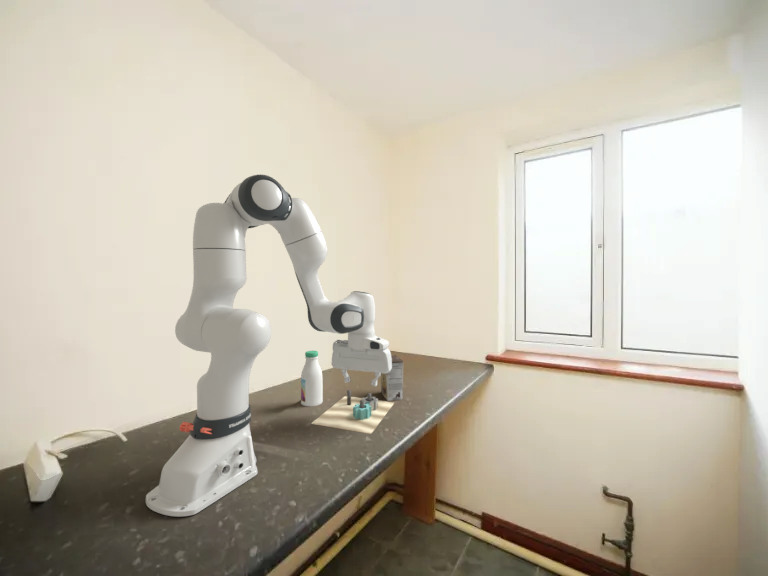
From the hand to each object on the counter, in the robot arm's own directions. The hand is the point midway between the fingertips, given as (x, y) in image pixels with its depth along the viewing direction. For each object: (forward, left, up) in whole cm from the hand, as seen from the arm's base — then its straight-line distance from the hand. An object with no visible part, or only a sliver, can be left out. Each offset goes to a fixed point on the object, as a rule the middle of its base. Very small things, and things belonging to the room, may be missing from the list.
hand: (360, 384), depth 97 cm
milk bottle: (+6, +22, -12) cm, 26 cm away
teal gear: (+1, 0, -11) cm, 11 cm away
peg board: (+3, +3, -12) cm, 13 cm away
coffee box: (+21, -4, -12) cm, 25 cm away
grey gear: (+7, 0, -11) cm, 13 cm away
